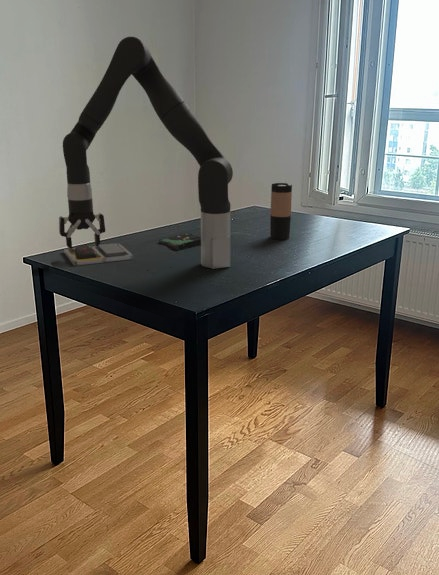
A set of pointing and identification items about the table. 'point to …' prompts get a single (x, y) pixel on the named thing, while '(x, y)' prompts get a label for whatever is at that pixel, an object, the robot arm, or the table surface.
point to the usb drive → (84, 252)
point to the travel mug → (280, 211)
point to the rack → (100, 258)
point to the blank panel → (111, 250)
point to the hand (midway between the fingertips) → (83, 247)
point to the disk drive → (181, 241)
